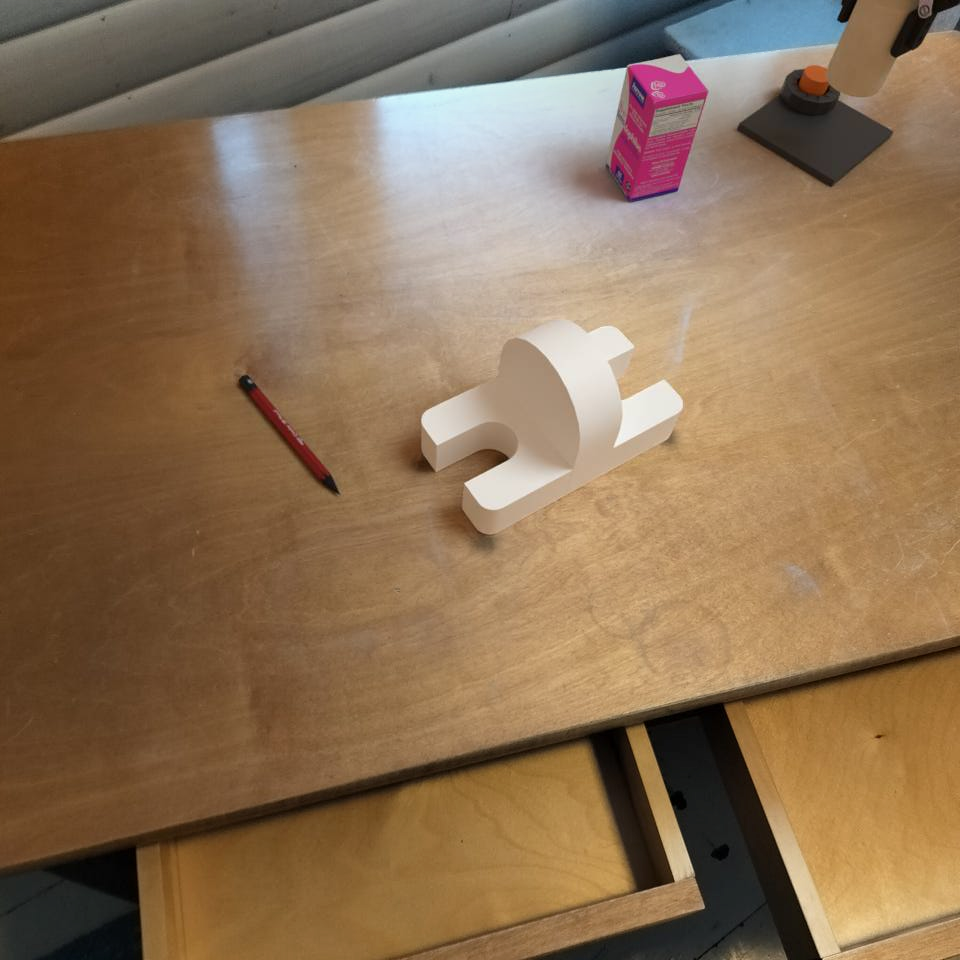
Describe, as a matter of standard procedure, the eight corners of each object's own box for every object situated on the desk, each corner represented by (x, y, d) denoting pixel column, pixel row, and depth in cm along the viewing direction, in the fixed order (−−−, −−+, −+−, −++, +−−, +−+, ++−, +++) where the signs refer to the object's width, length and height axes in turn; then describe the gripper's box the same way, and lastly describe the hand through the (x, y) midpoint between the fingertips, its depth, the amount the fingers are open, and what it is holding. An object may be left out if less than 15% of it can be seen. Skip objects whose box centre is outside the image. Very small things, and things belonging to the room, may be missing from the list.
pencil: (336, 501, 65) (335, 495, 64) (240, 385, 70) (237, 378, 69) (345, 495, 65) (344, 489, 65) (249, 380, 71) (247, 372, 70)
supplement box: (602, 166, 87) (625, 62, 77) (653, 156, 88) (683, 51, 78) (627, 204, 84) (654, 100, 74) (679, 192, 86) (713, 89, 76)
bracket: (484, 540, 64) (496, 458, 54) (415, 443, 68) (414, 351, 58) (677, 434, 70) (719, 343, 60) (603, 351, 74) (631, 253, 64)
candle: (892, 92, 83) (947, -11, 74) (845, 102, 81) (896, -2, 73) (859, 59, 85) (909, -45, 77) (813, 69, 84) (859, -36, 75)
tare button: (807, 76, 94) (814, 61, 92) (831, 89, 93) (837, 74, 91) (792, 87, 92) (799, 72, 91) (816, 100, 91) (822, 85, 90)
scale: (796, 82, 97) (805, 62, 94) (892, 136, 92) (903, 116, 90) (733, 128, 91) (740, 107, 89) (830, 187, 87) (841, 167, 85)
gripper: (1114, -161, 62) (974, 69, 77) (924, -250, 68) (830, -21, 84) (1057, -137, 59) (924, 97, 75) (865, -232, 66) (780, 1, 81)
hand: (875, 32), depth 79 cm, fingers closed on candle, 5 cm apart
